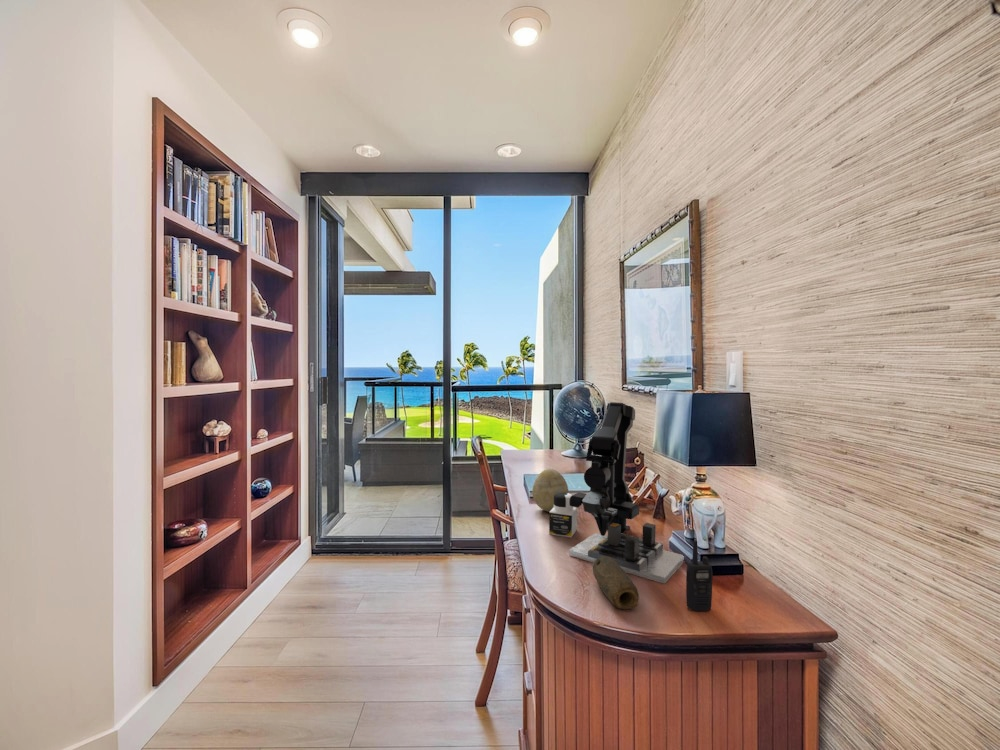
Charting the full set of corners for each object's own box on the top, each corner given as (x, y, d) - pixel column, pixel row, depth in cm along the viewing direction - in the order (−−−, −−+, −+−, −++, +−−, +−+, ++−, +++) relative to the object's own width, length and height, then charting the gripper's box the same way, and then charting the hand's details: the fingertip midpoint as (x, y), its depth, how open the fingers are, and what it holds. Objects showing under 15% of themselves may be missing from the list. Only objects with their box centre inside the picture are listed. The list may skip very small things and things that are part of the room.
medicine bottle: (548, 534, 141) (549, 495, 141) (555, 526, 148) (555, 489, 148) (571, 537, 139) (572, 498, 138) (577, 529, 145) (577, 492, 145)
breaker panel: (596, 537, 139) (596, 510, 139) (685, 560, 123) (685, 530, 123) (568, 556, 126) (568, 526, 125) (663, 584, 110) (664, 550, 109)
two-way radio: (689, 612, 98) (690, 542, 97) (680, 601, 102) (681, 534, 102) (715, 612, 98) (716, 542, 97) (704, 601, 102) (705, 534, 102)
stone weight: (586, 581, 111) (587, 554, 111) (613, 579, 113) (613, 552, 112) (614, 615, 97) (614, 584, 96) (644, 611, 98) (645, 580, 98)
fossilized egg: (570, 516, 157) (570, 473, 157) (533, 516, 157) (533, 473, 157) (565, 505, 170) (566, 464, 170) (531, 505, 170) (531, 464, 170)
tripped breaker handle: (612, 540, 128) (612, 522, 128) (620, 542, 127) (621, 524, 127) (607, 543, 126) (607, 525, 126) (616, 546, 125) (616, 527, 124)
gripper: (559, 480, 128) (559, 536, 128) (623, 492, 116) (622, 553, 116) (579, 472, 136) (578, 524, 137) (640, 483, 125) (639, 540, 125)
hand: (602, 535), depth 129 cm, fingers closed
